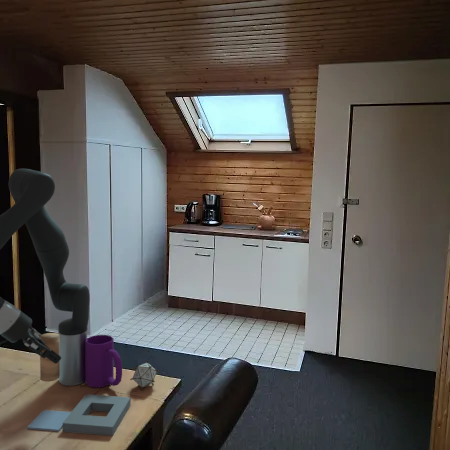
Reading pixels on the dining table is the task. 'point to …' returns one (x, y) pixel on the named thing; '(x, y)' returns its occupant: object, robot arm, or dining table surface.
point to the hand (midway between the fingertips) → (56, 356)
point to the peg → (47, 367)
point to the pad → (49, 420)
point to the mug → (101, 362)
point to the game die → (144, 375)
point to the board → (96, 424)
